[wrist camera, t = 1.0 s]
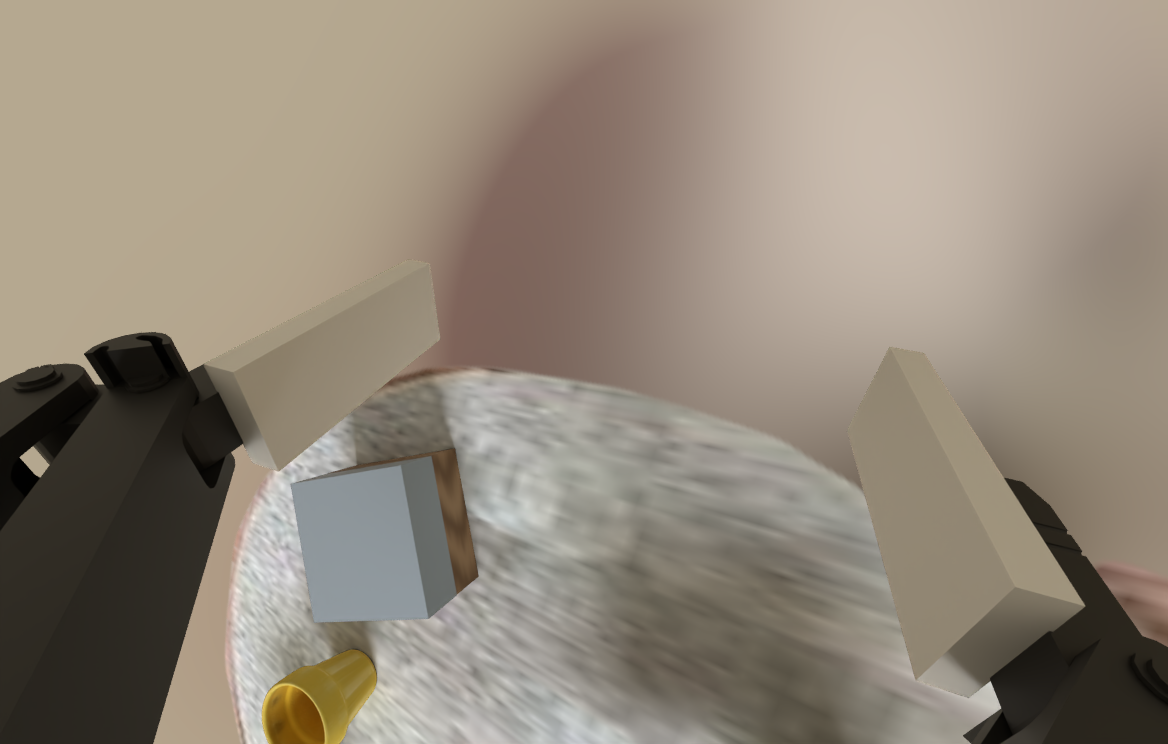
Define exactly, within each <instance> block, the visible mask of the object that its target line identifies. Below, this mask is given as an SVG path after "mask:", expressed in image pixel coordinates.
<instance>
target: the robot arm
mask: <svg viewBox="0 0 1168 744" xmlns="http://www.w3.org/2000/svg"><path fill="white" fill-rule="evenodd" d="M439 340H440V333H439V326H438V319H437V312H436V305H435V298H434V291H433V284H432V277H431V269H430V263H427V262H422V261H416V260H411V259H408V260H406V261H404V262H402V263H400V264H398V265H396V266H394V267H392V268H390V269H388V270H386V271H384V272H382V273H380V274H379V275H376V276H375V277H373V278H371V279H369V280H367V281H365V282H363V283H361V284H359V285H357V286H355V287H353V288H351V289H349V290H347V291H345V292H343V293H341V294H339V295H337V296H335V297H333V298H331V299H330V300H328V301H326V302H324V303H322V304H320V305H318V306H316V307H314V308H312V309H310V310H308V311H306V312H304V313H302V314H300V315H298V316H296V317H294V318H292V319H290V320H288V321H286V322H285V323H283V324H281V325H279V326H277V327H275V328H273V329H271V330H269V331H267V332H265V333H263V334H261V335H259V336H257V337H255V338H253V339H252V340H249V341H247V342H245V343H243V344H241V345H239V346H237V347H235V348H234V349H232V350H230V351H228V352H226V353H224V354H222V355H220V356H218V357H216V358H214V359H212V360H210V361H208V362H206V363H204V364H203V365H201V366H199V367H197V368H195V369H193V370H191V371H190V372H188V370H187V368H186V366H185V364H184V362H183V360H182V358H181V356H180V355H179V353H178V351H177V349H176V347H175V346H174V343H173V341H172V339H171V338H170V337H169V336H167V335H166V334H162V333H156V332H151V333H150V332H149V333H137V334H131V335H125V336H121V337H118V338H114V339H111V340H108V341H105V342H103V343H101V344H99V345H97V346H94V347H92V348H91V349H90V350H88V351H87V352H86V353H84V355H85V356H86V358H87V359H88V361H89V362H90V364H91V365H92V367H93V368H94V370H95V371H96V373H97V374H98V376H99V377H100V379H101V380H102V382H103V383H104V385H95V384H94V382H93V381H92V379H91V378H90V376H89V375H88V373H87V372H86V370H85V369H84V368H83V367H81V366H79V365H77V364H57V365H51V364H50V365H44V366H41V367H40V368H39V367H35V368H31V369H28V370H27V371H25V372H23V373H20V374H18V375H15V376H13V377H11V378H9V379H7V380H5V381H3V382H1V383H0V744H153V742H154V739H155V735H156V732H157V728H158V725H159V722H160V718H161V715H162V711H163V708H164V705H165V701H166V698H167V695H168V691H169V688H170V685H171V681H172V678H173V674H174V671H175V667H176V664H177V661H178V657H179V654H180V651H181V647H182V644H183V640H184V637H185V634H186V630H187V627H188V624H189V620H190V617H191V614H192V610H193V607H194V603H195V600H196V597H197V593H198V589H199V586H200V583H201V580H202V576H203V573H204V569H205V566H206V563H207V559H208V556H209V553H210V549H211V546H212V543H213V539H214V536H215V532H216V529H217V526H218V522H219V519H220V515H221V512H222V509H223V505H224V502H225V498H226V495H227V492H228V488H229V485H230V482H231V478H232V475H233V471H234V468H235V459H234V457H233V455H232V454H231V452H232V451H233V450H235V449H236V448H237V447H239V446H240V445H242V444H243V445H244V447H245V449H246V451H247V453H248V455H249V457H250V459H251V460H252V463H254V464H258V465H261V466H263V467H266V468H269V469H272V470H276V471H280V470H281V469H283V468H284V467H285V466H286V465H287V464H289V463H290V462H291V461H292V460H293V459H295V458H296V457H297V456H298V455H300V454H301V453H302V452H303V451H304V450H306V449H307V448H308V447H309V446H311V445H312V444H313V443H314V442H315V441H317V440H318V439H319V438H320V437H322V436H323V435H324V434H325V433H326V432H328V431H329V430H330V429H331V428H333V427H334V426H335V425H336V424H337V423H339V422H340V421H341V420H342V419H344V418H345V417H346V416H347V415H348V414H350V413H351V412H352V411H353V410H355V409H356V408H357V407H358V406H359V405H361V404H362V403H363V402H364V401H365V400H367V399H368V398H369V397H370V396H372V395H373V394H374V393H375V392H376V391H378V390H379V389H380V388H381V387H383V386H384V385H385V384H386V383H387V382H389V381H390V380H391V379H392V378H394V377H395V376H396V375H397V374H398V373H400V372H401V371H402V370H403V369H404V368H406V367H407V366H408V365H409V364H411V363H412V362H413V361H414V360H415V359H417V358H418V357H419V356H420V355H422V354H423V353H424V352H425V351H426V350H428V349H429V348H430V347H431V346H433V345H434V344H435V343H436V342H437V341H439ZM847 432H848V435H849V439H850V443H851V446H852V450H853V454H854V457H855V461H856V465H857V468H858V472H859V476H860V479H861V483H862V486H863V490H864V494H865V497H866V501H867V505H868V508H869V512H870V516H871V519H872V523H873V527H874V530H875V534H876V538H877V541H878V545H879V548H880V552H881V556H882V559H883V563H884V567H885V570H886V574H887V578H888V581H889V585H890V589H891V592H892V596H893V599H894V603H895V607H896V610H897V614H898V618H899V621H900V625H901V629H902V632H903V636H904V640H905V643H906V647H907V651H908V654H909V658H910V661H911V665H912V669H913V672H914V676H915V680H916V681H919V682H922V683H925V684H928V685H931V686H934V687H937V688H940V689H943V690H946V691H949V692H952V693H955V694H958V695H961V696H964V697H967V698H969V697H971V696H972V695H973V694H974V693H976V692H977V691H978V690H979V689H981V688H982V687H983V686H985V685H986V684H987V683H988V682H990V681H991V683H992V685H993V688H994V690H995V693H996V695H997V698H998V700H999V703H1000V705H1001V709H1000V710H998V711H997V712H996V713H994V714H993V715H991V716H990V717H989V718H987V719H986V720H984V721H983V722H982V723H980V724H979V725H977V726H976V727H974V728H973V729H972V730H970V731H969V732H967V733H966V734H965V735H963V736H964V737H965V738H966V739H967V740H968V741H969V742H970V743H971V744H1168V647H1166V646H1164V645H1163V644H1161V643H1159V642H1157V641H1155V640H1152V639H1149V638H1146V637H1143V636H1142V635H1141V634H1140V632H1139V631H1138V629H1137V628H1136V626H1135V625H1134V624H1133V622H1132V621H1131V619H1130V618H1129V617H1128V615H1127V614H1126V612H1125V611H1124V610H1123V608H1122V607H1121V605H1120V604H1119V602H1118V601H1117V600H1116V598H1115V597H1114V595H1113V594H1112V593H1111V591H1110V590H1109V588H1108V587H1107V585H1106V584H1105V583H1104V581H1103V580H1102V578H1101V577H1100V576H1099V574H1098V573H1097V571H1096V570H1095V568H1094V567H1093V566H1092V564H1091V563H1090V561H1089V560H1088V559H1087V557H1086V556H1082V555H1081V552H1082V550H1081V549H1080V547H1079V546H1078V544H1077V543H1076V542H1075V540H1074V539H1073V538H1072V536H1071V535H1068V534H1067V529H1066V528H1065V526H1064V525H1063V523H1062V522H1061V520H1060V519H1059V518H1058V516H1057V515H1056V513H1055V512H1054V510H1053V509H1052V508H1051V506H1050V505H1049V504H1047V503H1046V502H1045V501H1044V500H1043V499H1042V498H1041V497H1039V496H1038V495H1037V494H1036V493H1035V492H1034V491H1033V490H1031V489H1030V488H1029V487H1028V486H1026V484H1024V483H1023V482H1021V481H1016V480H1012V479H1008V478H1003V476H1002V475H1001V473H1000V472H999V470H998V469H997V467H996V465H995V464H994V462H993V461H992V459H991V457H990V456H989V454H988V453H987V451H986V449H985V448H984V446H983V445H982V443H981V442H980V440H979V439H978V437H977V436H976V434H975V432H974V431H973V429H972V428H971V426H970V425H969V423H968V421H967V420H966V418H965V417H964V415H963V414H962V412H961V410H960V409H959V407H958V406H957V404H956V402H955V401H954V399H953V398H952V396H951V395H950V393H949V392H948V390H947V389H946V387H945V385H944V384H943V382H942V381H941V379H940V378H939V376H938V374H937V373H936V371H935V370H934V368H933V367H932V365H931V363H930V362H929V360H928V359H927V357H926V356H925V354H924V353H920V352H915V351H909V350H904V349H899V348H893V347H889V349H888V351H887V353H886V355H885V357H884V359H883V361H882V363H881V365H880V367H879V369H878V371H877V373H876V375H875V376H874V379H873V380H872V382H871V384H870V386H869V388H868V390H867V392H866V394H865V396H864V398H863V400H862V402H861V404H860V406H859V408H858V410H857V412H856V414H855V416H854V418H853V420H852V422H851V424H850V426H849V427H848V429H847ZM32 446H34V447H35V449H37V451H38V452H39V453H40V454H41V455H42V457H43V458H44V459H45V460H46V461H47V463H48V464H49V465H50V466H49V467H48V468H47V470H46V471H45V472H44V474H43V475H42V476H41V478H40V477H38V476H36V475H35V474H34V473H33V472H32V471H31V470H30V469H29V468H28V466H27V465H26V464H25V463H24V462H23V461H22V460H21V459H20V458H19V457H20V456H21V455H23V454H24V453H25V452H26V451H27V450H29V449H30V448H31V447H32Z"/></svg>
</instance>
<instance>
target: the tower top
mask: <svg viewBox="0 0 1168 744" xmlns="http://www.w3.org/2000/svg"><path fill="white" fill-rule="evenodd" d="M291 489H292V495H293V501H294V507H295V513H296V519H297V525H298V531H299V536H300V542H301V548H302V554H303V560H304V566H305V572H306V578H307V584H308V589H309V595H310V601H311V607H312V613H313V619H314V622H346V621H378V620H410V619H429V618H430V617H431V616H433V615H434V614H435V613H436V612H437V611H438V610H440V609H441V608H442V607H443V606H444V605H446V604H447V603H448V602H449V601H450V600H452V599H453V598H454V597H455V596H456V595H457V592H456V587H455V581H454V576H453V571H452V565H451V560H450V554H449V549H448V543H447V538H446V533H445V527H444V522H443V516H442V511H441V505H440V500H439V495H438V489H437V484H436V478H435V473H434V467H433V462H432V457H431V456H428V457H422V458H416V459H410V460H404V461H398V462H393V463H387V464H381V465H375V466H369V467H364V468H358V469H352V470H346V471H340V472H334V473H329V474H325V475H321V476H317V477H314V478H310V479H307V480H303V481H299V482H296V483H292V484H291Z"/></svg>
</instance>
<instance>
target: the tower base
mask: <svg viewBox="0 0 1168 744" xmlns="http://www.w3.org/2000/svg"><path fill="white" fill-rule="evenodd" d="M428 456H431V457H432V462H433V467H434V473H435V478H436V484H437V489H438V495H439V500H440V505H441V511H442V516H443V522H444V527H445V533H446V538H447V543H448V549H449V554H450V560H451V565H452V571H453V576H454V581H455V587H456V592H457V594H458V593H459V592H460V591H462V590H463V589H464V588H465V587H466V586H468V585H469V584H470V583H471V582H472V581H474V580H475V579H476V578H477V577H478V571H477V565H476V560H475V555H474V549H473V544H472V538H471V533H470V528H469V522H468V517H467V511H466V506H465V501H464V495H463V490H462V484H461V479H460V474H459V468H458V463H457V457H456V452H455V448H454V449H448V450H443V451H437V452H431V453H425V454H419V455H414V456H408V457H402V458H396V459H391V460H385V461H379V462H373V463H368V464H362V465H356V466H353V467H349V468H345V469H342V470H338V471H335V472H340V471H346V470H352V469H358V468H364V467H369V466H375V465H381V464H387V463H393V462H398V461H404V460H410V459H416V458H422V457H428ZM331 473H334V472H331ZM328 474H329V473H328Z"/></svg>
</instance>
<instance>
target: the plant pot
mask: <svg viewBox="0 0 1168 744" xmlns="http://www.w3.org/2000/svg"><path fill="white" fill-rule="evenodd" d="M376 681H377V675H376V670H375V667H374V665H373V663H372V661H371V660H370V658H369V657H368V656H367V655H366V654H364V653H363V652H361V651H359V650H354V649H352V650H348V651H345V652H343V653H341V654H338V655H336V656H334V657H332V658H330V659H328V660H325V661H323V662H321V663H319V664H317V665H315V666H304V667H301V668H299V669H297V670H296V671H294V672H292V673H291V674H289V675H288V676H286V677H285V678H283V679H282V680H281V681H279V682H278V683H276V684H275V685H274V686H273V687H272V688H271V689H270V690H269V691H268V693H267V695H266V697H265V699H264V702H263V707H262V724H263V729H264V733H265V736H266V739H267V741H268V743H269V744H340V742H341V741H342V740H343V738H344V736H345V734H346V731H347V728H348V725H349V724H350V722H351V721H352V720H353V718H354V717H355V715H356V714H357V713H358V711H359V710H360V709H361V707H362V706H363V705H364V703H365V702H366V700H367V699H368V698H369V696H370V695H371V694H372V692H373V691H374V689H375V686H376Z"/></svg>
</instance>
